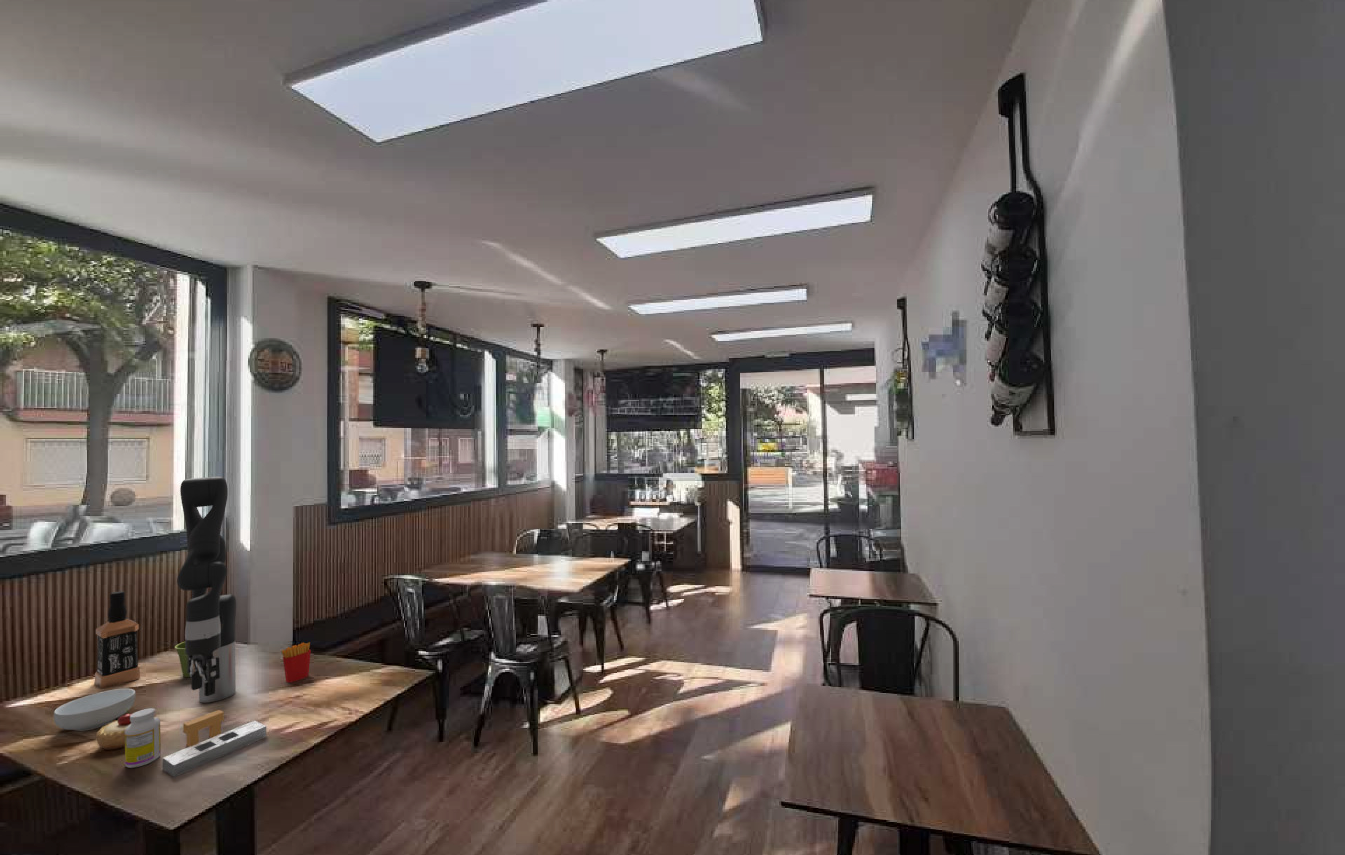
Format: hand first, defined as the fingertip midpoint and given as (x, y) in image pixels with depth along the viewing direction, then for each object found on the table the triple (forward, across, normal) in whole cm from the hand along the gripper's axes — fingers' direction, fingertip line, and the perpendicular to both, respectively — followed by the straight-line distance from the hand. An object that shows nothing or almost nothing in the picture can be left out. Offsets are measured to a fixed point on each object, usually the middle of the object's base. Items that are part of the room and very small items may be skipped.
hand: (203, 692), depth 148 cm
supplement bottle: (+14, -3, -12) cm, 18 cm away
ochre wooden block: (+14, 0, 0) cm, 14 cm away
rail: (+14, +11, -1) cm, 18 cm away
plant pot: (+13, -61, +19) cm, 66 cm away
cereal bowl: (+14, -43, -11) cm, 47 cm away
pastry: (+14, -21, -10) cm, 27 cm away
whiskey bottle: (+13, -80, +3) cm, 81 cm away
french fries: (+14, -20, +33) cm, 41 cm away
